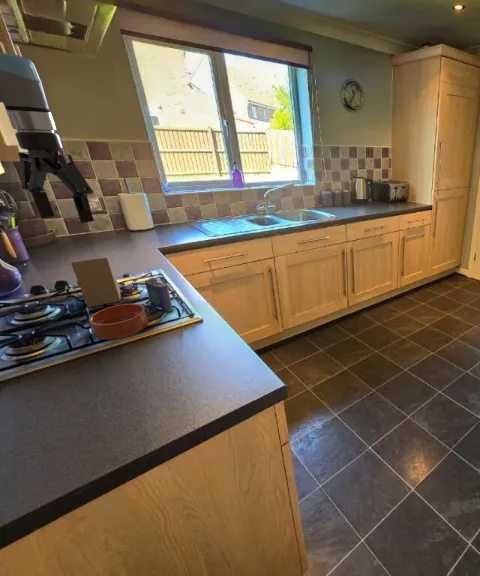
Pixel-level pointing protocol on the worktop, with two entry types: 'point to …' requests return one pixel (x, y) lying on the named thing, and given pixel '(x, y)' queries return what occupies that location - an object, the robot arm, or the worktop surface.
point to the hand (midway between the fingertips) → (67, 219)
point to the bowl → (118, 321)
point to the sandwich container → (97, 281)
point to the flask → (158, 295)
